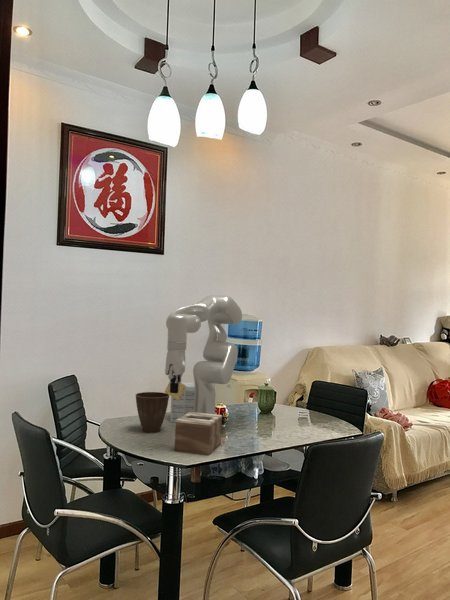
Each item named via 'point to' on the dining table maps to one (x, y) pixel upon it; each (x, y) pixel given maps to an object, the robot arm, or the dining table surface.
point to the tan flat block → (180, 391)
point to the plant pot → (151, 410)
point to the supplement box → (183, 403)
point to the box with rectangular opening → (198, 433)
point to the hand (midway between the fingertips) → (175, 392)
